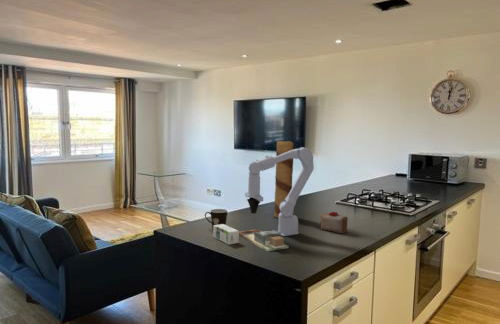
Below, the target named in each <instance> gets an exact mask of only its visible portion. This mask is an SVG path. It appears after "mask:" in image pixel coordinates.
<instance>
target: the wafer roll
mask: <svg viewBox="0 0 500 324" xmlns="http://www.w3.org/2000/svg"><path fill="white" fill-rule="evenodd" d="M290 150H294V142H293V141H290V140H286V141H283V140H278V141H277V142H276V151H275V152H276V156H278V155H281V154H283V153H285V152H288V151H290ZM276 156H275V157H276ZM293 171H294V158H290V159H287V160H284V161H281V162H278V163H276V164H275V176H274V178H275V184H274V185H275V191H274V209H273V211H274V213H273V214H274V216H273V217H274V218H277V219H279V214H280V212H281V211H280V209H279V205H280V203H281V202H283V201H284V200H285V198H286V197H287V196H288V194H289V192H290V191H291V189H292V187H293V173H294V172H293Z"/></svg>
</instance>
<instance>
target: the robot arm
mask: <svg viewBox="0 0 500 324" xmlns="http://www.w3.org/2000/svg"><path fill="white" fill-rule="evenodd" d="M290 158H293V160H294V159H295V160H299V161H300V163H301V166H302V169H301V171H300V173H299V175H298V176H297V178H296V180H295V181H294V184H292V189H291V191H290V192H289V194H288V196H287V197H286V198H285V200H284V201H283V202H281V203H280V205H279V209H280V211H281V212H280V214H279V218H278V227H277V231H279V232H281V237H282V236H283V237H285V236H294V235H299V234H300V233H299V218H298V216H297V215H295V214H294V208H295V206H296V203H297V200H298V199H299V197H300V195H301V192H303V189H304V187H305V185H306V184H307V182H308V181H309V179H310V176H311V175H312V173H313V171H314V168H315V167H314V155H313V153H312V151H311V149H309V148H306V147H303V146H302V147H299V148H293V150H290V151H288V152H285V153H283V154H281V155H278V156H272V155H266V156H265V157H264V158H260V159H256V161H252V162H250V163H249V165H248V191H247V192H245V193H244V195H245V197H246V201H247V202H248V205H249V210H250V213H251V214H253V215H254V214H257V211H258V207H259V205H260V203H261V202H264V197H263V196H262V195H261V174H260V173H261V172H263V171H266V170H269V169H272V168H274V167H276V163H278V162H281V161H284V160H287V159H290Z"/></svg>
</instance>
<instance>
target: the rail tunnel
mask: <svg viewBox="0 0 500 324" xmlns="http://www.w3.org/2000/svg"><path fill="white" fill-rule="evenodd" d="M266 236H271V237H276V236H280V237H282V235H281V232H279V231H278V230H273V229H269V230H267V232H265V231H261V230H259V229H251V230H243V231H239V237H242V238H243V239H245V240H247V241H248V242H249V243H252V244H254V245H255V246H257V247H258V248H260V249H262V250H264V251H266V252H272V251H279V250H285V249H289V247H290V246H289V245H288V244H286V242H284V247H281V248H275V249H274V248H272V247H270V246H269V245H267V244H265V237H266Z"/></svg>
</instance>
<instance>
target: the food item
mask: <svg viewBox="0 0 500 324" xmlns="http://www.w3.org/2000/svg"><path fill="white" fill-rule="evenodd" d="M348 218H349V217H348V216H344V215H340V214H339V213H338V212H337V211H331V212H329V213H326V212H325V213H321V214H320V229H321V230H322V231H327V230H328V231H329V232H332V231H333V232H334V233H337V232H338V233H337V234H341V233H343V234H346V233H347V232H346V231H348V220H349V219H348Z"/></svg>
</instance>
